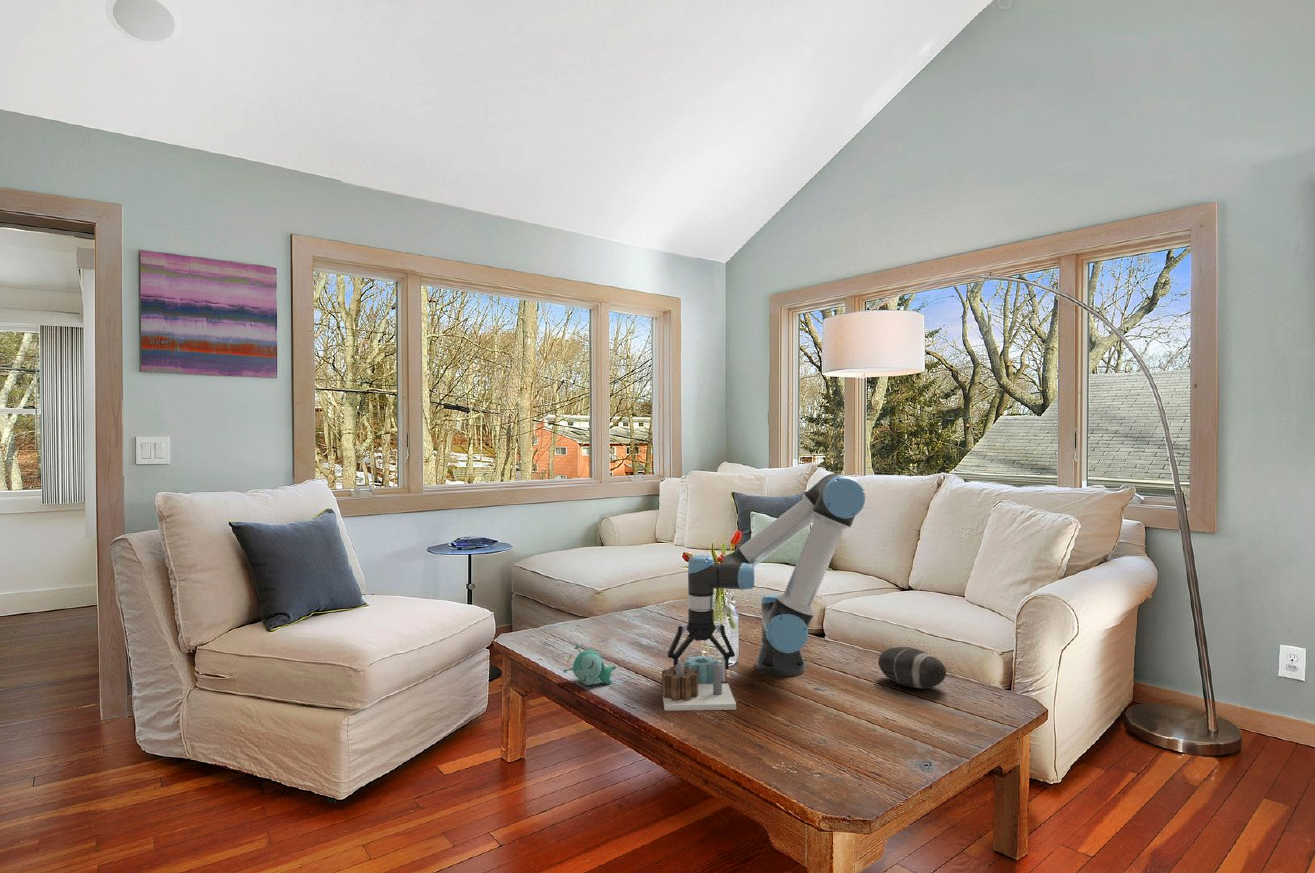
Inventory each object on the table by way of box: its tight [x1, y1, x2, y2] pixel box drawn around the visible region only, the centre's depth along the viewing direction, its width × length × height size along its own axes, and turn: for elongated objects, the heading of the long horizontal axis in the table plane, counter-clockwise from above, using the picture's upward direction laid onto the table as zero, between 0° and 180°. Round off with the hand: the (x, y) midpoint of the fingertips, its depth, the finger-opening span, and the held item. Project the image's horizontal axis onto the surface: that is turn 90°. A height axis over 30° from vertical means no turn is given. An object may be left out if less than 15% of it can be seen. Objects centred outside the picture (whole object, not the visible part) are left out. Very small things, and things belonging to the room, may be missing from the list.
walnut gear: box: [661, 666, 698, 701], centre depth 190 cm, size 10×10×6 cm
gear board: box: [662, 662, 737, 712], centre depth 190 cm, size 19×15×10 cm
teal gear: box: [683, 655, 719, 684], centre depth 204 cm, size 10×10×6 cm
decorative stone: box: [877, 646, 947, 689], centre depth 201 cm, size 19×14×10 cm
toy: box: [563, 644, 617, 686], centre depth 203 cm, size 10×10×15 cm
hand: (701, 680), depth 204 cm, fingers open, 12 cm apart
